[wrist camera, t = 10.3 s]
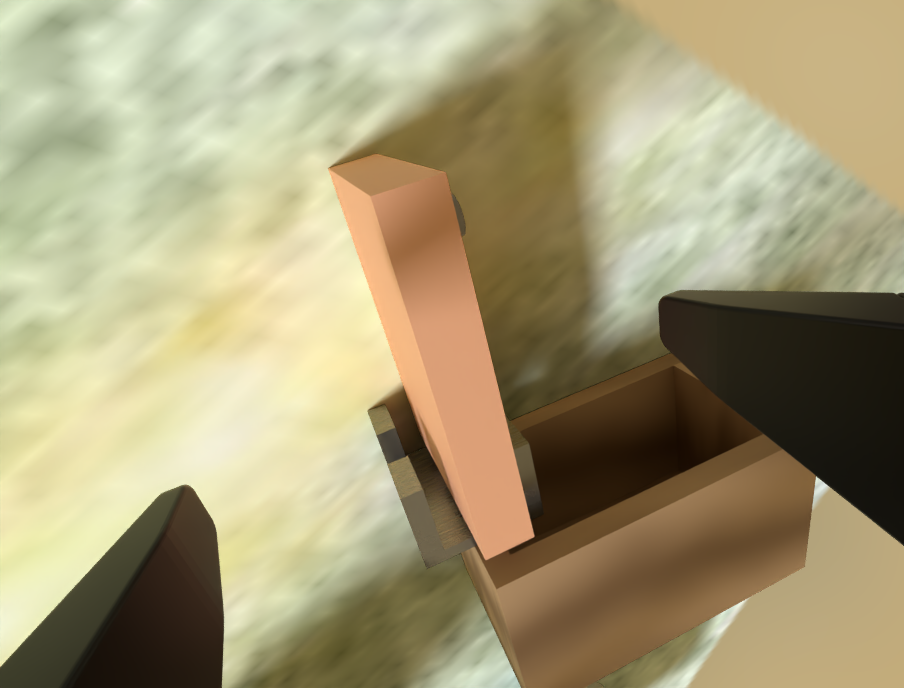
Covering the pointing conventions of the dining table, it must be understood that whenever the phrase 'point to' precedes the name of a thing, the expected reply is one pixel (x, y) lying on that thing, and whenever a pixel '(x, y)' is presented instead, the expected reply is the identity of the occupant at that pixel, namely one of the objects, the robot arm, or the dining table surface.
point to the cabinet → (639, 525)
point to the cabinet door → (437, 336)
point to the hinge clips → (441, 491)
